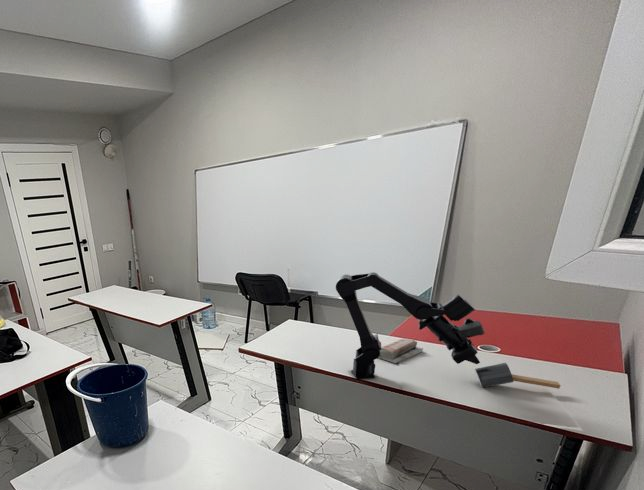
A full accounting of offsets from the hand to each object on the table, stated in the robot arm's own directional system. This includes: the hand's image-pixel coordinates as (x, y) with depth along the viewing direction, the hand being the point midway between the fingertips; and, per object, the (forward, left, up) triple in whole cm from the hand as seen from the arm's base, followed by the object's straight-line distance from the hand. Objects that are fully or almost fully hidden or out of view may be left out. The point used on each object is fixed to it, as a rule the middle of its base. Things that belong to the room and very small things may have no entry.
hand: (478, 363), depth 117 cm
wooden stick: (+1, -1, -3) cm, 4 cm away
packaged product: (-11, +28, -9) cm, 32 cm away
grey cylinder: (+1, 0, -5) cm, 6 cm away
